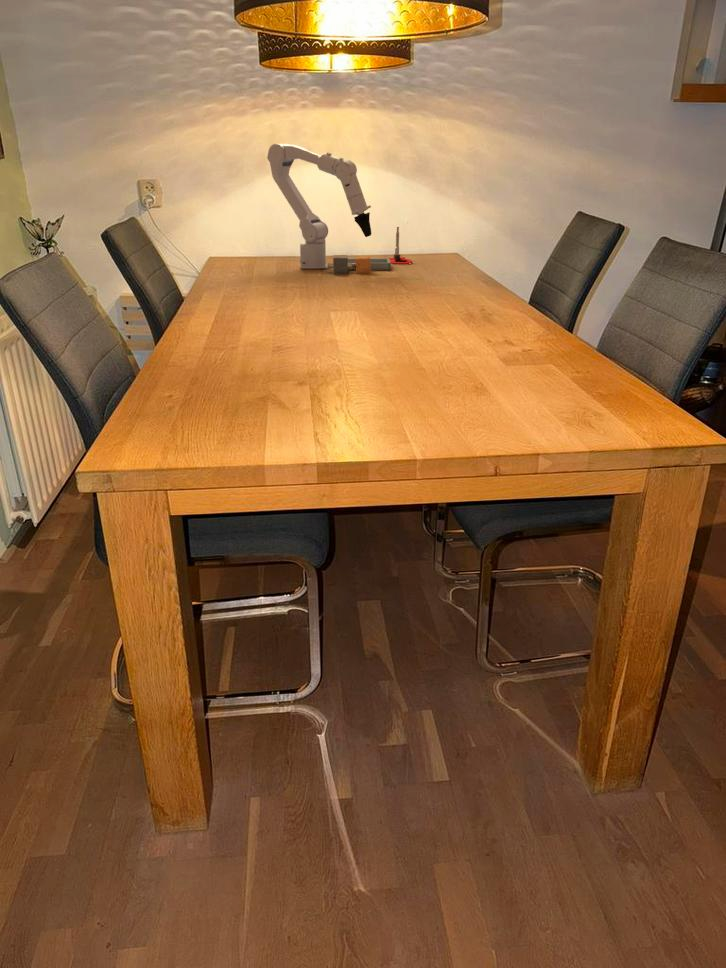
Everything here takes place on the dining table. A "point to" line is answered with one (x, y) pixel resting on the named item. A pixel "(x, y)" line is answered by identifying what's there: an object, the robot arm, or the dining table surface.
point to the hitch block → (340, 264)
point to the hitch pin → (358, 265)
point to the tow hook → (396, 255)
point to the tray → (376, 263)
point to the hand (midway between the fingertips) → (368, 235)
